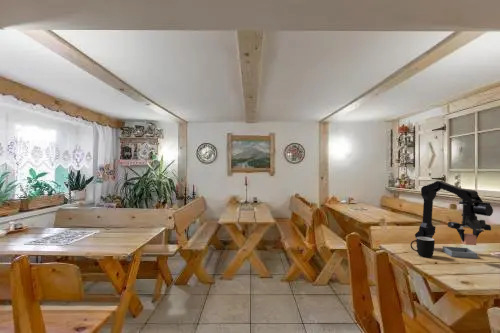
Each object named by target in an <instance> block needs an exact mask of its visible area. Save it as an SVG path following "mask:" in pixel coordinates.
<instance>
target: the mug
mask: <svg viewBox="0 0 500 333" xmlns="http://www.w3.org/2000/svg"><path fill="white" fill-rule="evenodd" d="M414 242H416V245H417V246H416V249H415V248H414V247H413V243H414ZM435 244H436V240H435V239H434V238H433V237H432V238H428V237H417V238H416V239H415V240H414V239H413V240H412V241H411V242H410V248H411V250H412V251H414V252H415V253H416V252H417V254H418V256H419V257H421V258H426V259H427V258H429V259H430V258H432V257H433V256H434V255H433V254H434V252H435Z"/></svg>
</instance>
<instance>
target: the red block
mask: <svg viewBox="0 0 500 333" xmlns="http://www.w3.org/2000/svg"><path fill="white" fill-rule="evenodd" d="M460 239H461V238H460ZM460 242H461V244H463V245H466V246H469V245H470V246H477V239H476V236H475V235H473V233H465V232H464V242H463V241H462V239H461V240H460Z"/></svg>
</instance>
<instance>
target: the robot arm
mask: <svg viewBox="0 0 500 333" xmlns="http://www.w3.org/2000/svg"><path fill="white" fill-rule="evenodd" d="M441 190H444V191H445V192H448V193H452V195H453V194H454V195H456V196H457V197H458V198H459V199H461V201H459V202H458V204H459V205H462V213H461V216H462V221H461V222H460V223H459V222H457V221H447V227H448V228H449V229H454V230H456V231H457V233H458V234H459V237H460V239H462V241H463V242H464V233H465V231H466V230H465V229H464V228H468V229H471V230H472V234H473V235H475V236H476V240H477V239H478V237H479V235H480V234H481V233H482V232H485V231H492V226H491V225H490V224H487V222H486V220H485V219H479V220H478V216H477V215H479V216H485V217H491V216H492V215H493V213H494V208H493V207H492V205H491V202H484V201H483V200H482V199H481V197H480V195H479V193H478V191H477V190H475V189H468V188H462V187H460V186H456V185H453V184H450V183H448V182H445V181H443V180H437V181H434V182H432V183H429V184H427V185H423V186H422V187H421V189H420V192H421V197H422V199H423V206H422V207H423V208H422V209H423V210H422V221H421V224H420V225H419V226H418V231H417V232H416V233H415V234H414V236H415V238H416V239H417V237H428V238H432V239H433V236H435V233H436V226H435V225H433V221H432V220H433V207H434V205H433V204H434V200H435V198H436V197H437V194H438V192H439V191H441ZM416 247H417V244H416Z"/></svg>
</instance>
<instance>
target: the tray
mask: <svg viewBox="0 0 500 333" xmlns="http://www.w3.org/2000/svg"><path fill="white" fill-rule="evenodd" d="M442 252H443V253H445V254H446V255H448V256H450V258H459V259H461V258H463V259H474V260H475V259H477V260H478V253H477V252H475V251H474V250H472V249H470V248H468V247H459V246H456V247H455V246H442Z"/></svg>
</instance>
